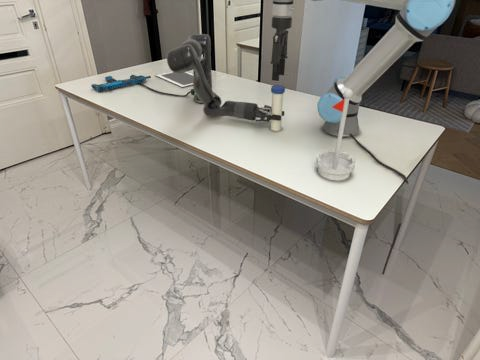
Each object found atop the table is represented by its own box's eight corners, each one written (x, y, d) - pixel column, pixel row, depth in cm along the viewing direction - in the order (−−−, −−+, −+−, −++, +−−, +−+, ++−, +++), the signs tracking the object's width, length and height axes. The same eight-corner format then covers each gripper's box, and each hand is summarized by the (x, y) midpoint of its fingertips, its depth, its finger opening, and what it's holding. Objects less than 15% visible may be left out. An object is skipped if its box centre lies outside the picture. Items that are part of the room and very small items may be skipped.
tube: (281, 130, 150) (284, 89, 140) (271, 131, 150) (273, 89, 140) (279, 126, 154) (282, 86, 144) (269, 126, 154) (271, 86, 143)
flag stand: (338, 160, 128) (352, 80, 111) (360, 177, 117) (380, 93, 101) (308, 166, 124) (318, 85, 107) (328, 185, 113) (343, 98, 97)
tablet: (155, 75, 221) (155, 75, 220) (182, 70, 232) (182, 69, 231) (182, 87, 200) (182, 86, 200) (210, 80, 211) (209, 80, 211)
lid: (285, 93, 140) (286, 88, 139) (272, 94, 140) (272, 89, 139) (283, 89, 145) (283, 84, 144) (270, 89, 145) (270, 85, 144)
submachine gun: (137, 69, 223) (155, 75, 206) (138, 75, 225) (156, 81, 208) (84, 79, 204) (99, 87, 188) (85, 85, 206) (101, 94, 190)
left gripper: (240, 108, 145) (278, 113, 140) (251, 97, 156) (287, 102, 151) (240, 124, 149) (277, 130, 144) (250, 113, 160) (286, 117, 155)
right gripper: (284, 21, 118) (280, 85, 130) (298, 13, 134) (292, 71, 146) (264, 19, 120) (261, 83, 132) (279, 12, 136) (276, 70, 148)
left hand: (282, 115), depth 147 cm, fingers closed on tube, 4 cm apart
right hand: (278, 77), depth 139 cm, fingers open, 8 cm apart
